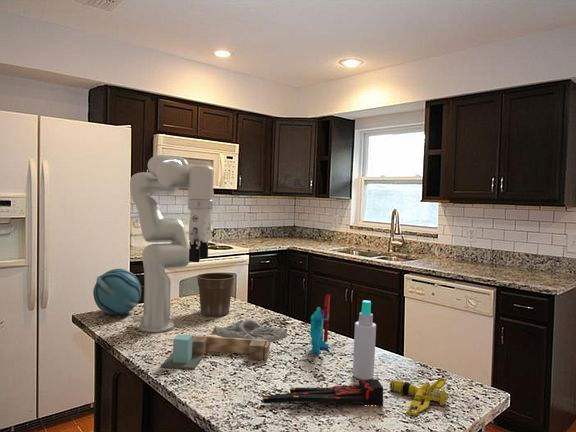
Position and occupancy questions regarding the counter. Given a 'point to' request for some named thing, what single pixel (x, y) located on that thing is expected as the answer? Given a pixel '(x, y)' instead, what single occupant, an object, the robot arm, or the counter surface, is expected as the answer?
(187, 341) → the block
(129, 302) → the toy
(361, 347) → the spray bottle
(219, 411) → the counter surface
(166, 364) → the pad
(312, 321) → the toy
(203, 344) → the rack
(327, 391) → the toy
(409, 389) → the sprinkler
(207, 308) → the object
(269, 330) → the wall plaque
